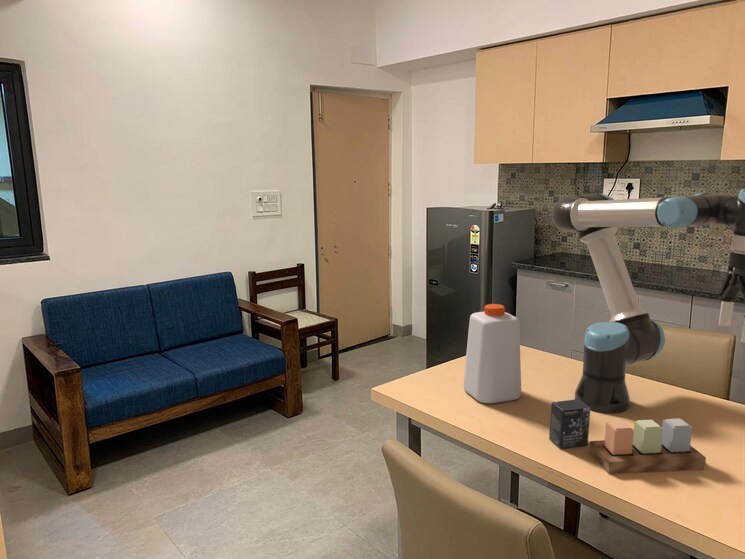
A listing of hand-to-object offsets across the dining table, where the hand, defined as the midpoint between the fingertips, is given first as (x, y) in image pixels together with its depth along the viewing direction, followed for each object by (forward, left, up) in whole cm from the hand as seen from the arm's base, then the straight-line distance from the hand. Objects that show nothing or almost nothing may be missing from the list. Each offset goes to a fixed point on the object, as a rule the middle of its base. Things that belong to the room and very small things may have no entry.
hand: (735, 333), depth 147 cm
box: (-32, -30, -27) cm, 51 cm away
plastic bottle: (-61, -12, -27) cm, 67 cm away
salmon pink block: (-20, -33, -23) cm, 45 cm away
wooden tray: (-14, -29, -27) cm, 42 cm away
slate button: (-9, -24, -23) cm, 35 cm away
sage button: (-14, -29, -23) cm, 40 cm away
